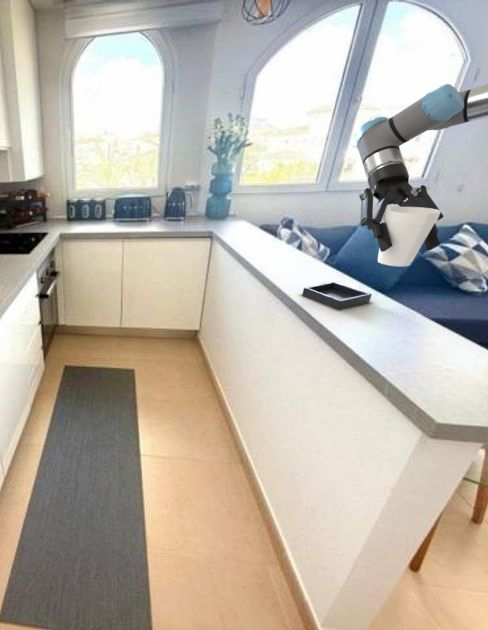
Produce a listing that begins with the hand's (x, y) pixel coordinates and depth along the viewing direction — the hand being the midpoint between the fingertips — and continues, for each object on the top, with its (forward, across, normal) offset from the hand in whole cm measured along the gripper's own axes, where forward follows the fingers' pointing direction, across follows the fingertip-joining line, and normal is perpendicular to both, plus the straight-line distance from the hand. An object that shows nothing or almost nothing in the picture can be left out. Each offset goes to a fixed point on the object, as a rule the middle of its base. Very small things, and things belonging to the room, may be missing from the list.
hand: (409, 248), depth 82 cm
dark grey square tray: (+2, +2, -27) cm, 27 cm away
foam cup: (+1, 0, -6) cm, 6 cm away
